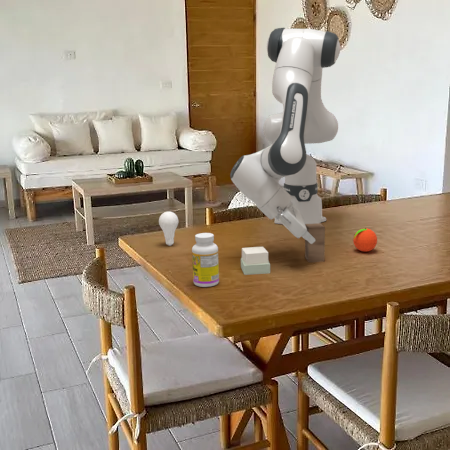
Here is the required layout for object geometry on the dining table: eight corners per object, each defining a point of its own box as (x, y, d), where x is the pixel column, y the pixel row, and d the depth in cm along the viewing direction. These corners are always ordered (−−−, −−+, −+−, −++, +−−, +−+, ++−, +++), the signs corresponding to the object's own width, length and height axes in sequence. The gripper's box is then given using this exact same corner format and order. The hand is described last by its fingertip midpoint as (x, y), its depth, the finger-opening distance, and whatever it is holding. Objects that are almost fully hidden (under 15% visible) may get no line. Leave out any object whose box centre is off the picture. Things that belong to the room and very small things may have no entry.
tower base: (240, 268, 165) (240, 258, 164) (265, 266, 165) (265, 256, 165) (244, 276, 158) (244, 265, 157) (270, 274, 159) (270, 264, 158)
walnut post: (305, 257, 171) (305, 224, 169) (320, 256, 172) (320, 223, 169) (308, 262, 167) (308, 227, 165) (324, 261, 167) (324, 227, 165)
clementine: (362, 256, 171) (362, 232, 169) (345, 251, 176) (345, 228, 175) (381, 251, 175) (382, 228, 173) (364, 246, 180) (365, 224, 179)
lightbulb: (183, 243, 189) (181, 210, 187) (173, 249, 184) (171, 214, 181) (166, 242, 192) (164, 209, 189) (156, 247, 186) (154, 213, 184)
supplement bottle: (192, 279, 155) (190, 232, 152) (218, 278, 155) (216, 231, 152) (193, 288, 148) (191, 239, 145) (220, 287, 149) (218, 237, 146)
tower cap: (241, 258, 164) (241, 248, 163) (263, 256, 164) (263, 246, 164) (246, 264, 158) (246, 254, 157) (268, 263, 159) (268, 252, 158)
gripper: (287, 203, 155) (324, 239, 157) (283, 189, 175) (316, 221, 177) (270, 220, 156) (307, 255, 158) (268, 204, 176) (301, 236, 178)
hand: (311, 237), depth 168 cm, fingers open, 8 cm apart
